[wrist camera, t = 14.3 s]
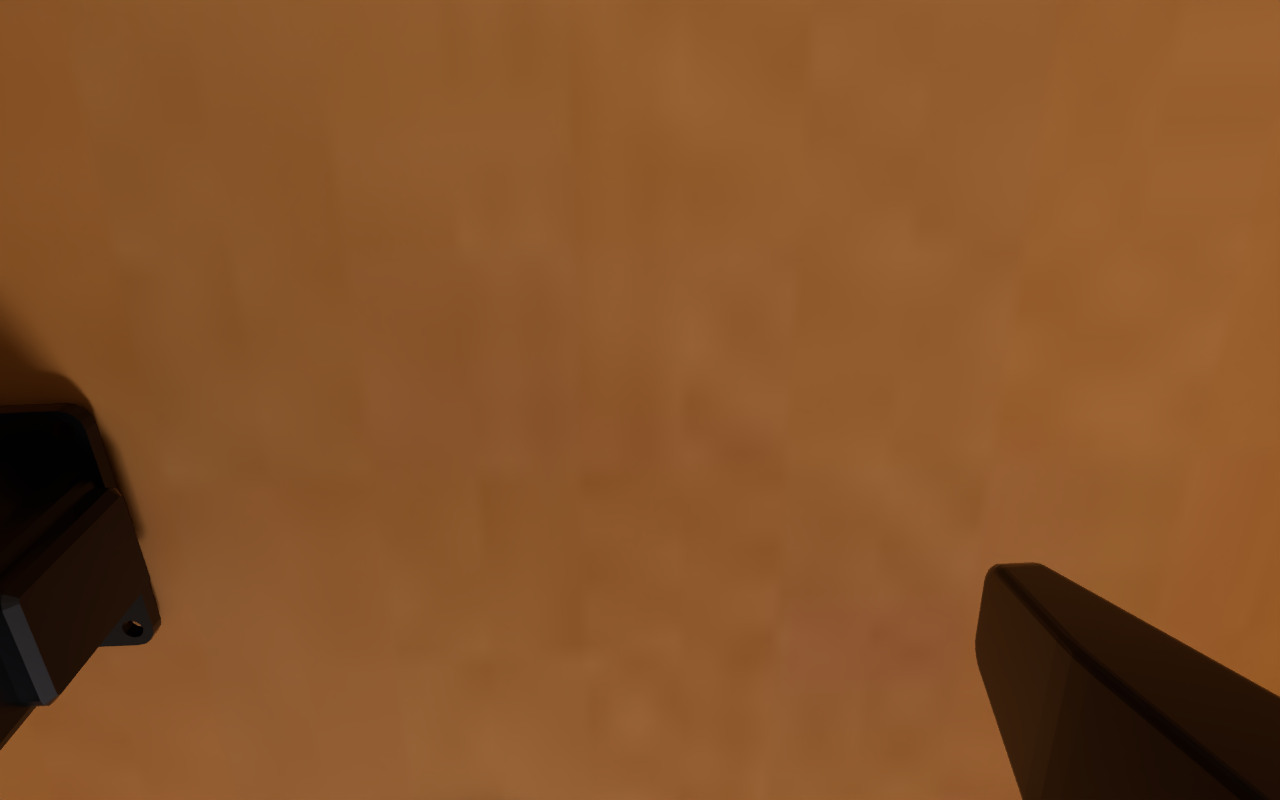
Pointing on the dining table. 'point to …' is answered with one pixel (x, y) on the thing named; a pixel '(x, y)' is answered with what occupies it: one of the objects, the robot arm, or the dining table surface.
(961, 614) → the dining table surface
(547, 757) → the dining table surface
